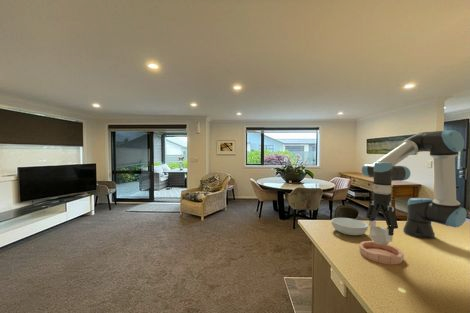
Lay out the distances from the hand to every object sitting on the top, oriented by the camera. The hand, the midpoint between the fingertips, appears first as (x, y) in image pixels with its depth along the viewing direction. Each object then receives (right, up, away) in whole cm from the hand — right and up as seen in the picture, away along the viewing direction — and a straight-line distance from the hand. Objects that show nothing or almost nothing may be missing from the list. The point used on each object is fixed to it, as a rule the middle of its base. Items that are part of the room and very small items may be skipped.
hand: (380, 237), depth 109 cm
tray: (0, -9, 0) cm, 9 cm away
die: (0, -3, 0) cm, 3 cm away
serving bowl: (0, -9, +31) cm, 32 cm away
